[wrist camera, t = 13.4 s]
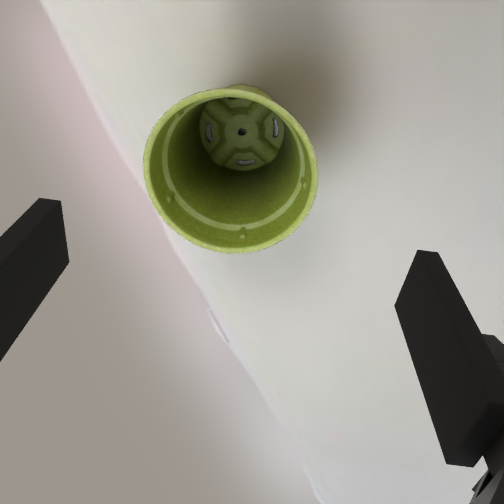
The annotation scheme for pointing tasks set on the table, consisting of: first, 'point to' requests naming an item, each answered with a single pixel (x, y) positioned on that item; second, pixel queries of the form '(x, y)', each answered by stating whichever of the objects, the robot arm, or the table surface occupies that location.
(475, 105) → the table surface
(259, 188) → the plant pot
